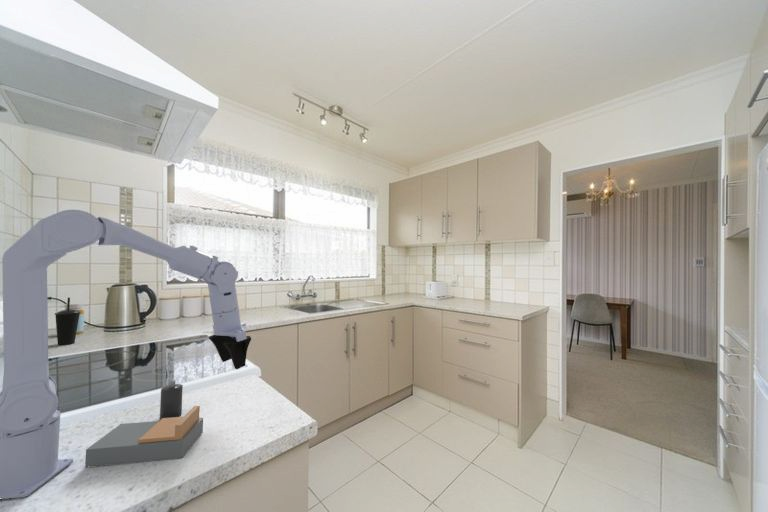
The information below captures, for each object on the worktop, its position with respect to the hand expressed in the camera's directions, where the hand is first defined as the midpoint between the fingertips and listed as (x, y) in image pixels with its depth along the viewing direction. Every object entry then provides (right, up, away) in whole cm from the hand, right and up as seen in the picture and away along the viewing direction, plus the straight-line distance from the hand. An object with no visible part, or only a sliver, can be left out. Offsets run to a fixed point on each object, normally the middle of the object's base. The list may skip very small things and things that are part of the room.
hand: (233, 363), depth 70 cm
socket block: (-7, -10, -16) cm, 20 cm away
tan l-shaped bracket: (-4, -7, -16) cm, 17 cm away
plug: (-12, -10, -5) cm, 16 cm away
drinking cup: (-100, -12, +52) cm, 114 cm away
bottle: (-117, -12, +69) cm, 136 cm away
